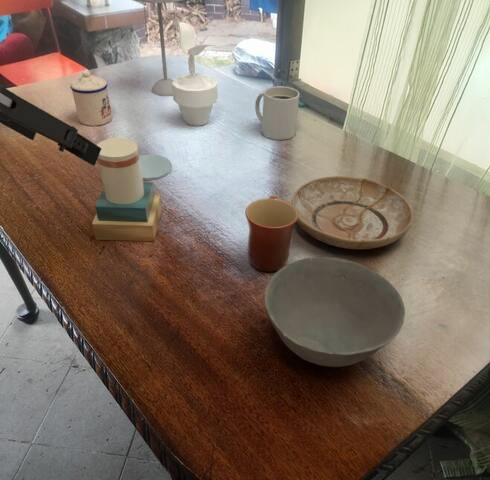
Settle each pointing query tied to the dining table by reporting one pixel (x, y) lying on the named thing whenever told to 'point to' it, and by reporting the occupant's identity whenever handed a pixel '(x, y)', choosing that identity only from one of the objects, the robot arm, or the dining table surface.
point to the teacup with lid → (91, 99)
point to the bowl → (333, 310)
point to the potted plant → (193, 81)
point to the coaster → (154, 166)
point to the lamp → (165, 84)
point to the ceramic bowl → (352, 212)
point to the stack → (128, 218)
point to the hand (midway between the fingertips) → (64, 143)
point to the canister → (120, 170)
